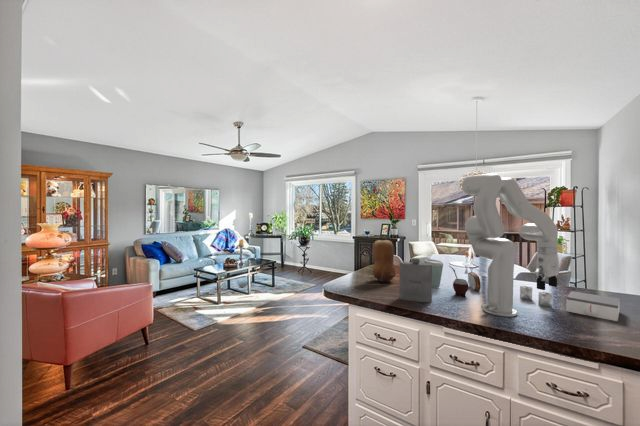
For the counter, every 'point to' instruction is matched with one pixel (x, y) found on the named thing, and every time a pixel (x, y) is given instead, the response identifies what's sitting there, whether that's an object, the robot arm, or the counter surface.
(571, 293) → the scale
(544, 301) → the spacer
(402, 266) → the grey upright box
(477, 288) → the bread slice
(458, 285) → the mate gourd
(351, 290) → the counter surface
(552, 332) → the counter surface
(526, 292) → the spacer
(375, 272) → the butternut squash
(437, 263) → the disposable coffee cup
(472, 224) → the robot arm
